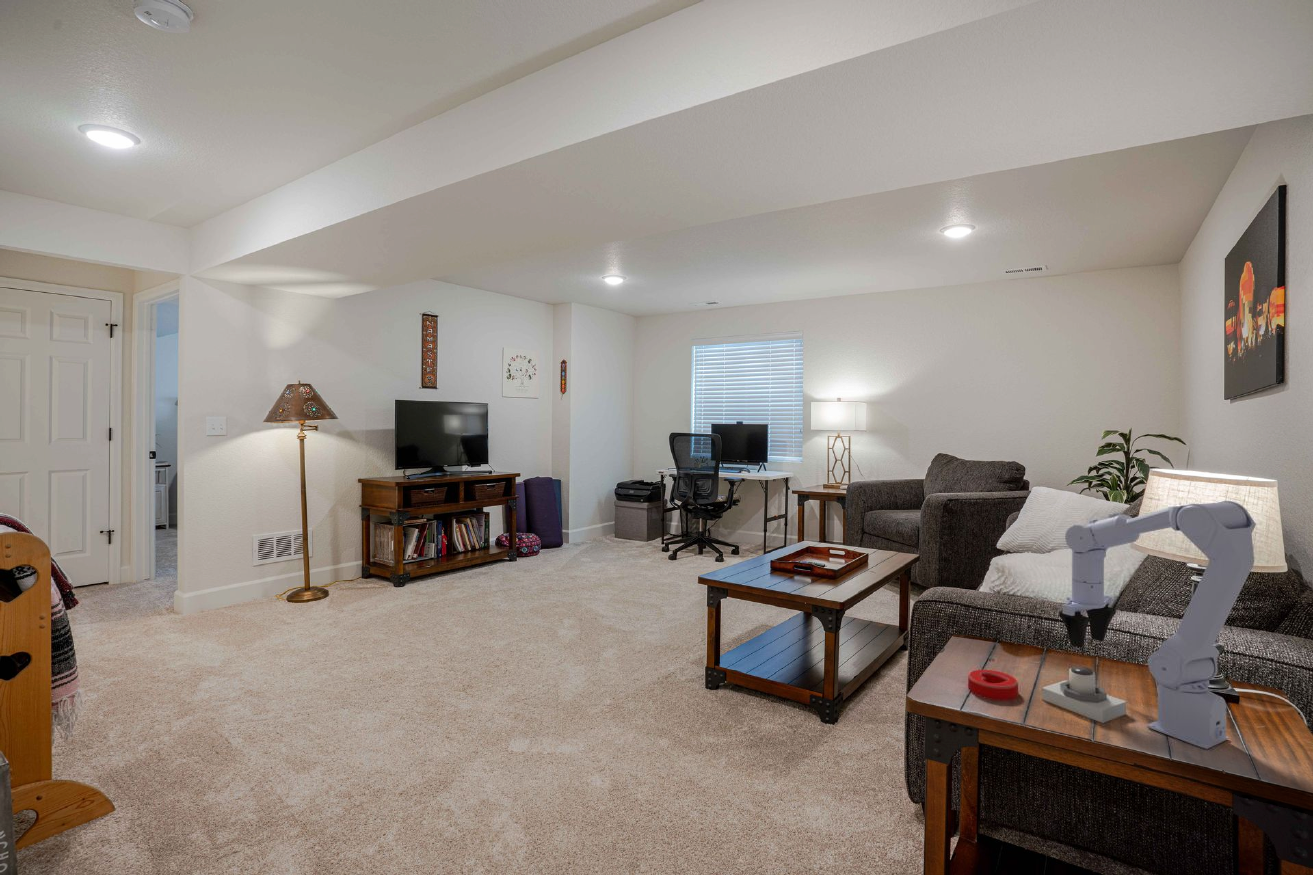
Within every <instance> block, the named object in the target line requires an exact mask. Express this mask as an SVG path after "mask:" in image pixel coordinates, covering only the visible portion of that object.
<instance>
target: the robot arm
mask: <svg viewBox="0 0 1313 875" xmlns="http://www.w3.org/2000/svg"><path fill="white" fill-rule="evenodd" d="M1088 522H1089V523H1088V524H1073V525H1072V526H1070V527H1069V528H1068V529H1067V530H1066V532H1065V538H1064V539H1065V542H1066V545H1067V546H1068V548H1069V549H1070V550H1071V595H1068V596H1067V597H1066V600H1067V602H1066V603H1064V604H1062V610H1059V611H1058V616H1059V617H1060V619H1061V620H1062V622H1063V624H1064V625H1065V628H1066V632H1067V635H1068V638H1069V642H1070V645H1071V646H1073V647H1075V648H1076V647H1077V648H1079V649H1082V648H1083V647H1084V645H1085V640H1086V639H1085V638H1086V632H1087V627H1088V625H1089V630H1090V632H1089V633H1090V637H1091V640H1095V641H1099V642H1104V640H1105V638H1106V635H1107V631H1108V628H1109V625H1110V623H1111V621H1112V619H1113V618H1114V617H1115V615H1116V614H1117V610H1116V608H1114V607H1112V603H1113V600H1112V599H1113V597H1112V596H1108V595H1104V594H1105V593H1104V592H1105V591H1104V590H1105V582H1104V581H1105V576H1104V575H1105V557H1107V550H1108V549H1109V548H1113V547H1114V548H1115V547H1118V546H1123V545H1126V544H1127V545H1128V544H1132V543H1135V542H1137V541H1138V540H1139V538H1140V535H1141V534H1144V533H1149V532H1155V531H1159V530H1165V529H1172V530H1174V531H1176V532H1178V531H1179V532H1181V533H1182V534H1183V535H1184V536H1185V537H1186V538H1187V539H1188V540H1189V541H1190V542H1191V543H1192V544H1193V545H1194V546H1195V547H1196V548H1198V550H1199V551H1201V553H1203V555H1205V556H1206V558H1207V560H1208V564H1207V565H1206V567H1205V569H1204V572H1203V574H1202V577H1201V579H1200V580H1199V583H1198V585H1197V587H1196V589H1195V591H1194V593H1193V595H1192V598H1191V600H1190V602H1189V604H1188V606H1187V608H1186V609H1185V610H1186V611H1185V612H1184V614H1183V616H1182V618H1181V621H1180V623H1179V625H1178V628H1177V630H1176V632H1175V633H1174V634H1172V635H1171V636H1170V637H1168V638H1167V639H1165V641H1163V642H1162V643H1161V645H1160V647H1159V649H1157V651H1154V652H1153V653H1151V654H1150V656H1149V657H1148V660H1147V664H1148V665H1147V666H1148V669H1149V671H1150V673H1151V675H1152V677H1153V678H1154V679H1155V683H1156V684H1157V720H1155V721H1153V722H1150V723H1148V724H1147V725H1146V727H1147V728H1149V729H1150V730H1153V731H1157V732H1159V733H1163V734H1164V735H1166V736H1170V737H1173V738H1175V739H1178V740H1181V741H1183V742H1186V743H1188V744H1191V745H1194V746H1196V747H1199V748H1202V749H1205V750H1208V749H1210V748H1212V747H1214V746H1216V745H1218V744H1220V743H1222V742H1225V741H1227V740H1228V739H1229V736H1228V735H1227V704H1226V700H1225V699H1224V698H1223V697H1222V696H1220V695H1218V694H1215V693H1213V692H1212V691H1210V690H1209V687H1210V680H1212V679H1214V678H1215V677H1216V676H1217V674H1218V658H1219V655H1220V654H1221V652H1220V651H1219V650H1218V648H1217V647H1216V646H1215V643H1216V641H1217V639H1218V637H1219V636H1220V633H1221V631H1222V629H1223V627H1224V625H1225V624H1226V621H1227V619H1228V616H1230V613H1231V611H1232V609H1233V606H1234V605H1235V603H1236V601H1237V599H1238V596H1239V595H1240V593H1241V591H1242V589H1243V587H1244V584H1245V583H1246V581H1247V579H1248V576H1249V574H1250V573H1251V570H1253V567H1254V563H1255V556H1254V555H1255V554H1254V553H1255V552H1254V544H1253V536H1252V534H1253V532H1254V529H1255V528H1256V525H1257V524H1256V522H1255V520H1254V519H1253V517H1252V516H1251V514H1250V513H1249V511H1248V510H1247V509H1246V508H1245V507H1244V506H1243V505H1242V504H1240V503H1238V502H1236V501H1231V500H1223V501H1219V502H1210V503H1208V502H1207V503H1188V504H1186V505H1184V504H1183V505H1174V506H1169V507H1166V508H1162V509H1158V510H1155V511H1151V512H1149V513H1145V514H1142V515H1138V516H1136V517H1132V516H1130V515H1127V514H1120V513H1119V512H1115V513H1114V512H1113V513H1111V514H1108V518H1104V519H1101V520H1098V519H1092V520H1089V521H1088ZM1082 612H1086V615H1087V616H1084V615H1083V613H1082Z"/></svg>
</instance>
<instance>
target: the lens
mask: <svg viewBox="0 0 1313 875" xmlns="http://www.w3.org/2000/svg"><path fill="white" fill-rule="evenodd" d="M1068 671H1069V672H1068V674H1069V675H1068V676H1069V677H1068V681H1070V690H1071V691H1074V692H1077V693H1080V694H1088V695H1096V694H1095V686H1096V673H1095V672H1094V670H1093V669H1091V668H1090V667H1087V666H1086V667H1085V666H1080V665H1079V666H1078V665H1077V666H1076V665H1074V666H1071V667H1070V668H1069V669H1068Z"/></svg>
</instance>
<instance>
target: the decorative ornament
mask: <svg viewBox="0 0 1313 875" xmlns="http://www.w3.org/2000/svg"><path fill="white" fill-rule="evenodd" d="M967 688H968V690H969V691H970V692H971V693H972V694H973V695H976V696H978V695H979V696H978V697H980V696H981V698H983V697H985V698H984V699H987V698H988V700H992V699H995V701H1011V700H1010V699H1013V700H1015V699H1016V697H1017V696H1018V697H1019V682H1018V680H1017V679H1016V678H1015V677H1014V676H1012V675H1010V674H1008V673H1005V672H1002V671H997V670H994V669H993V670H992V669H976V670H975V669H974V670H972V671H970V672H969V673H968V676H967ZM1018 697H1017V698H1018ZM1014 698H1015V699H1014Z"/></svg>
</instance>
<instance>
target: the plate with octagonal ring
mask: <svg viewBox="0 0 1313 875" xmlns="http://www.w3.org/2000/svg"><path fill="white" fill-rule="evenodd" d="M1095 694H1096V695H1088V694H1080V693H1077V692H1074V691H1071V690H1070V681H1069V680H1066V679H1064V680H1061V681H1059V682H1056V683H1055V682H1054V683H1053V684H1049V685H1046V686H1043V687H1041V700H1042V699H1043V701H1045V702H1047V703H1050V704H1052V705H1056V706H1057V707H1060V708H1063V709H1065V710H1068V711H1071V712H1073V713H1076V714H1078V715H1081V716H1083V717H1086V718H1088V719H1091V720H1094V721H1097V722H1100V723H1102V724H1104V723H1106V722H1110V721H1112V720H1115V719H1117V718H1120V717H1122V716H1125V715H1127V700H1123V699H1121V698H1118V697H1114V696H1113V695H1112V696H1111V695H1109V694H1107V692H1106V691H1105V689H1104V688H1102V687H1101V686H1098V685H1095Z"/></svg>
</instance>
